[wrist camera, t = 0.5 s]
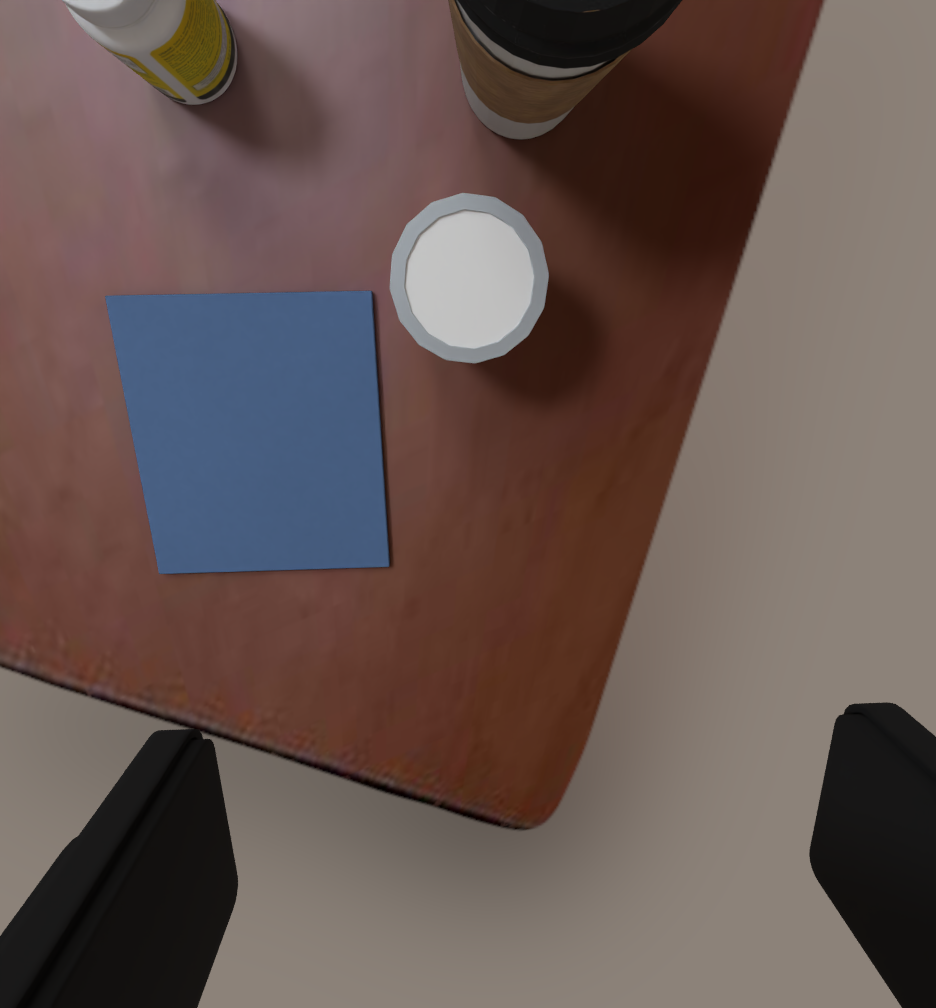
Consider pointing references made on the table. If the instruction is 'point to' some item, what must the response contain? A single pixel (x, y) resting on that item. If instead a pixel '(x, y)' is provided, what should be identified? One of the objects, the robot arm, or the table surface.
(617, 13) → the coffee cup
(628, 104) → the table surface
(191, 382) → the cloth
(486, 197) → the white cup
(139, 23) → the supplement bottle
